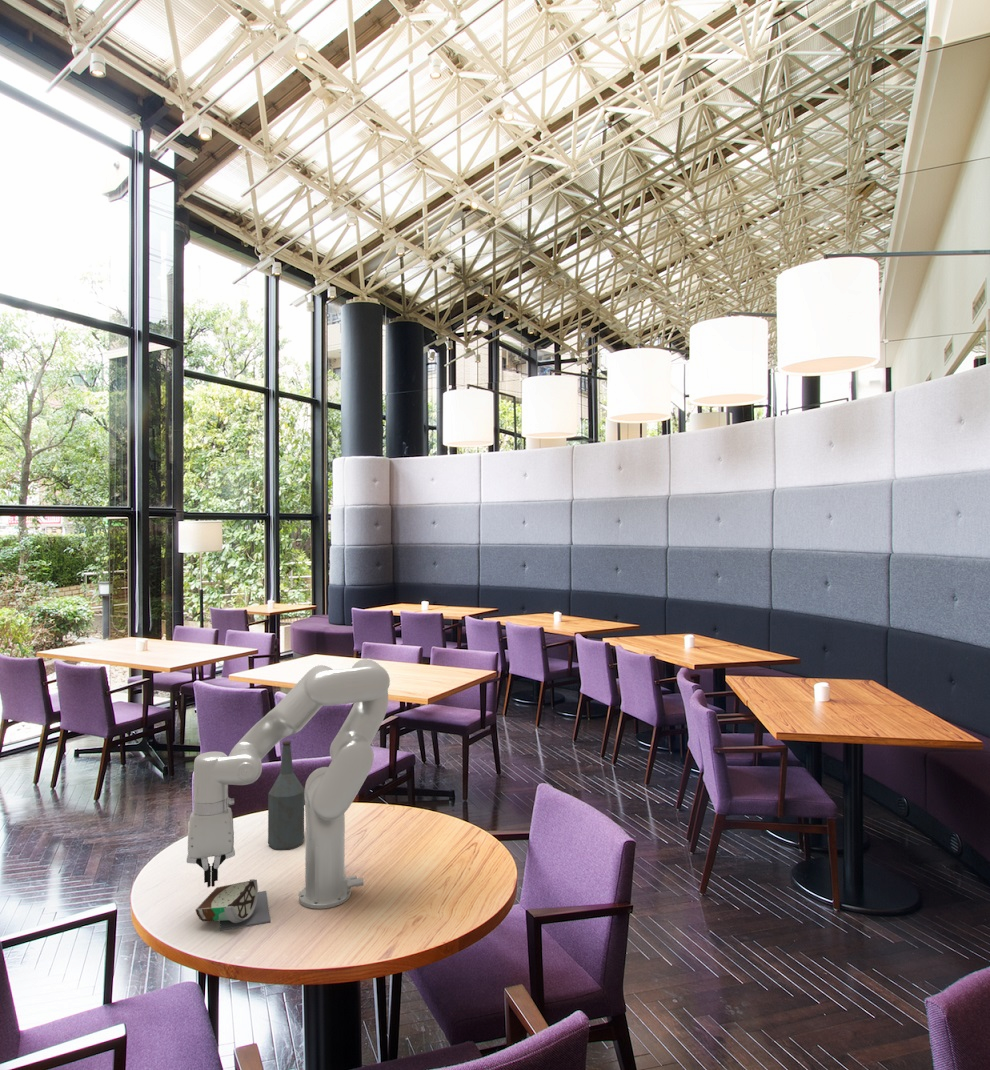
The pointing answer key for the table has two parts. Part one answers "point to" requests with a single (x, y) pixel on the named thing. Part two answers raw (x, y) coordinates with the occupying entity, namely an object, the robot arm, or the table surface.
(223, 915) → the food container
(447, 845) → the table surface
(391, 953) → the table surface
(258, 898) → the mat
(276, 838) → the bottle
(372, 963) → the table surface
